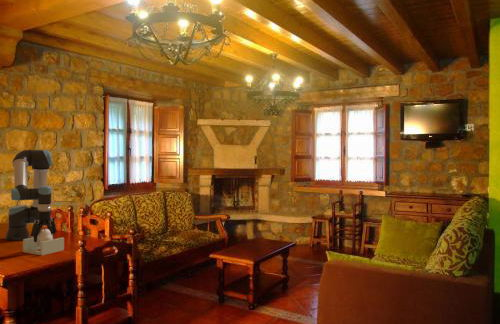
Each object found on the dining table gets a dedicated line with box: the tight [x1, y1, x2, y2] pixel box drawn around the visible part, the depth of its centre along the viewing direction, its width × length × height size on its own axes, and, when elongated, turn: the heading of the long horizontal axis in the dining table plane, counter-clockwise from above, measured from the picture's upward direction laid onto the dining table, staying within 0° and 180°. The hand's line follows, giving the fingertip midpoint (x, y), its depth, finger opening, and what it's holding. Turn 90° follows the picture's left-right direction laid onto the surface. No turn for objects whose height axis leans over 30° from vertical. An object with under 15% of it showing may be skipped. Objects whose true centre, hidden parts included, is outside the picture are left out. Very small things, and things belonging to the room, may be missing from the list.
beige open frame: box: [22, 236, 65, 256], centre depth 260 cm, size 17×16×8 cm
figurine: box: [37, 227, 52, 247], centre depth 261 cm, size 10×10×12 cm
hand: (43, 245), depth 260 cm, fingers closed on figurine, 10 cm apart
